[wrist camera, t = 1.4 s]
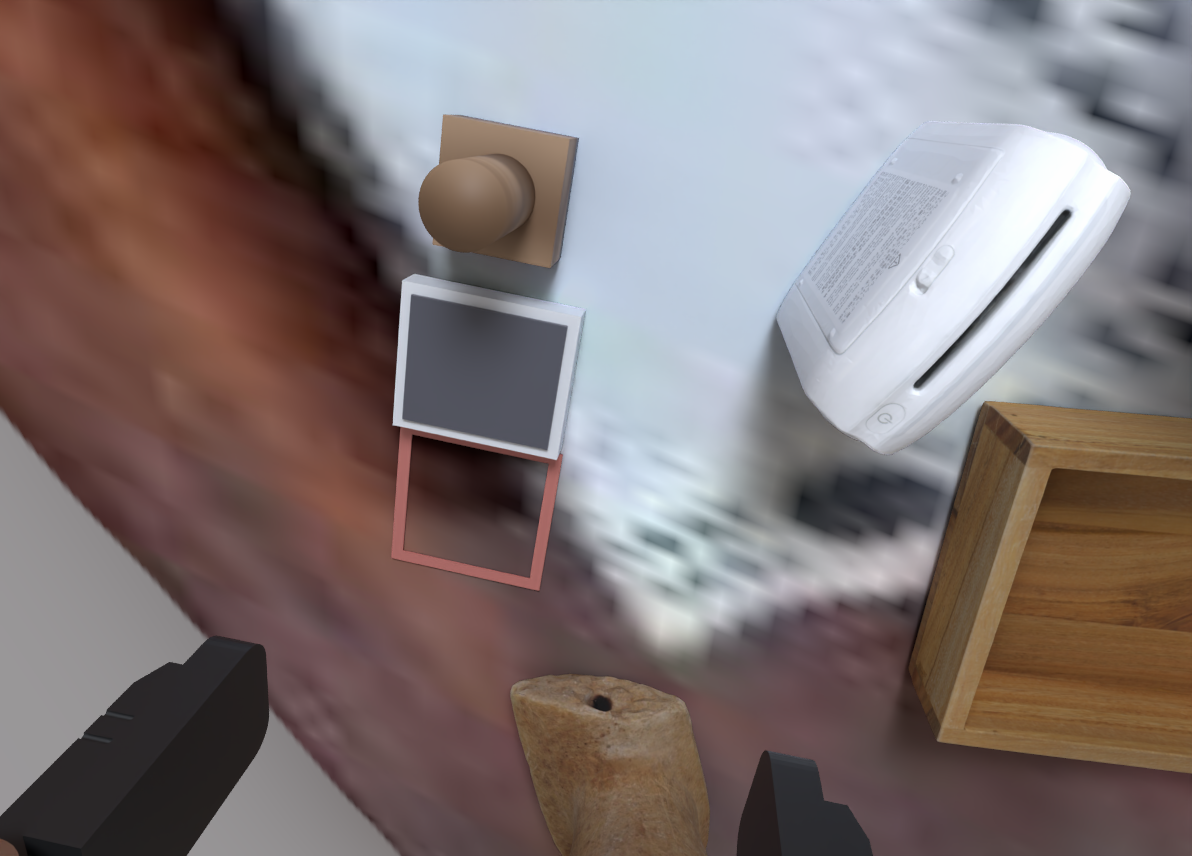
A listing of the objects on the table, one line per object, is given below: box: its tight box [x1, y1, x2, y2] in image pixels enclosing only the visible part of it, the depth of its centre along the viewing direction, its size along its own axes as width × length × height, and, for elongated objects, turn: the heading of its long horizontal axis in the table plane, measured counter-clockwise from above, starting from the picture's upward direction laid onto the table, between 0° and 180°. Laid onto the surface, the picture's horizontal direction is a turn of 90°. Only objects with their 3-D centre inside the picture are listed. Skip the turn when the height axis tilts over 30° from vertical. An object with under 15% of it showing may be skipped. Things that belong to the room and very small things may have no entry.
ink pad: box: [393, 274, 586, 460], centre depth 34 cm, size 7×8×2 cm
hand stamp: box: [419, 115, 579, 268], centre depth 28 cm, size 5×5×8 cm
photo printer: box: [776, 121, 1131, 455], centre depth 25 cm, size 10×4×12 cm, turn 148°
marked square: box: [391, 427, 563, 591], centre depth 37 cm, size 8×8×1 cm
